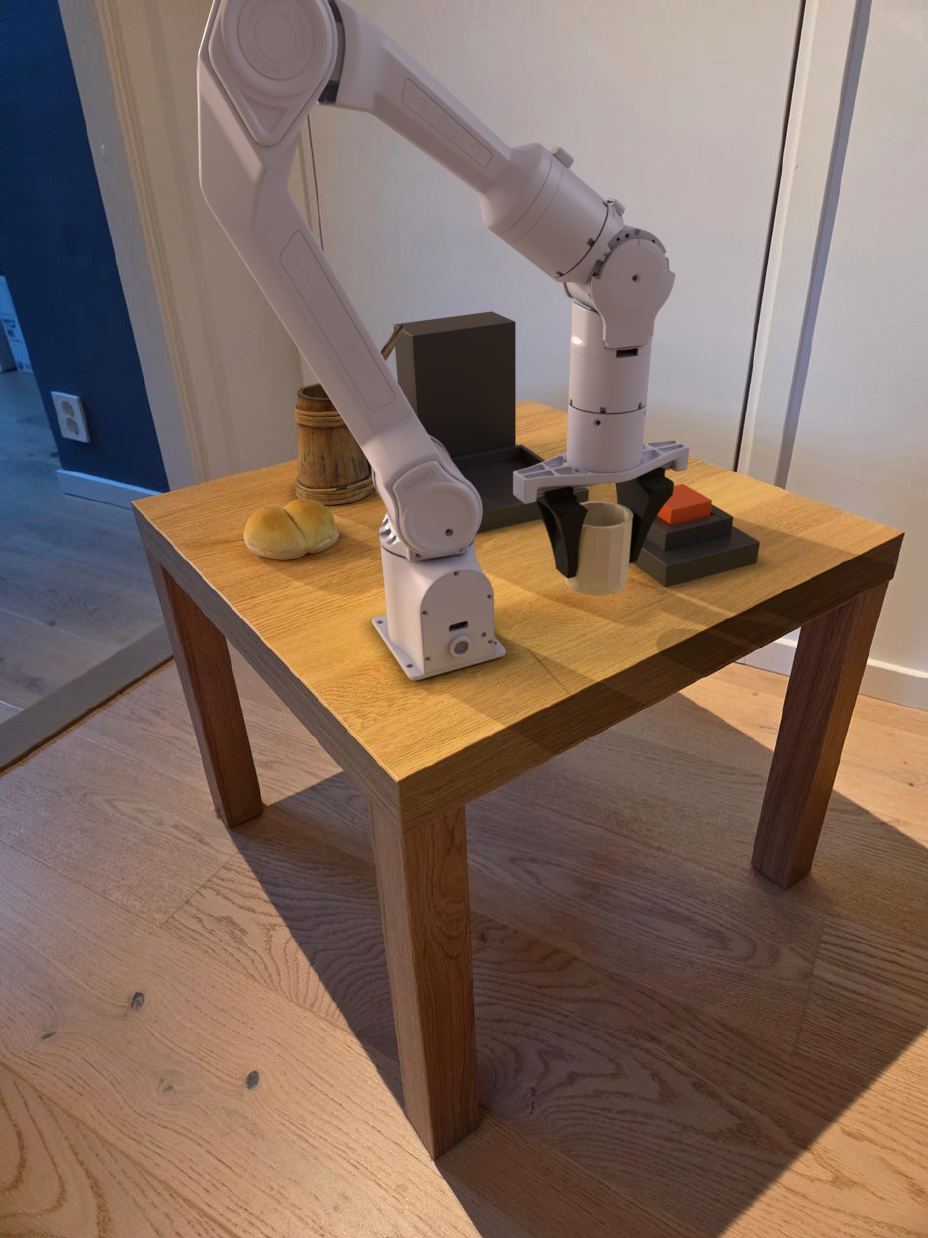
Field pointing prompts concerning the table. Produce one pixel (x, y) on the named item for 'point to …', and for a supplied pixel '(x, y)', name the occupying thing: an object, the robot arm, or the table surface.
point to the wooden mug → (331, 447)
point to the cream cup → (603, 549)
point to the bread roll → (291, 530)
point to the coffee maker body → (461, 379)
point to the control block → (695, 548)
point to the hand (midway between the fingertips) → (597, 564)
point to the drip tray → (502, 485)
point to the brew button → (684, 506)
